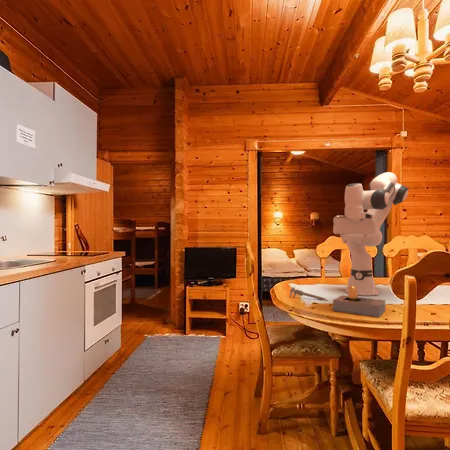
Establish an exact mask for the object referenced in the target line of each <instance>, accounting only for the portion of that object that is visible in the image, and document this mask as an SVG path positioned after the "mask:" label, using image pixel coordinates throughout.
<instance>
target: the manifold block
mask: <svg viewBox="0 0 450 450" xmlns="http://www.w3.org/2000/svg"><path fill="white" fill-rule="evenodd" d="M332 312H338V313H346V314H353V315H359V316H360V315H361V316H366V315H367V316H369V317H373V318H374V317H375V318H380V317H382V315H383V314H384V313H385V312H386V299H377V298H370V297H360V296H357V301H349V300H348V295H343V294H342V295H340V296H338V297H336V298H334V299H332Z"/></svg>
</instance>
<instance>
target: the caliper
mask: <svg viewBox="0 0 450 450" xmlns="http://www.w3.org/2000/svg"><path fill="white" fill-rule="evenodd" d="M297 295H298V296H301V297H303V296H305V297H309V298H313V299H316V300H319V301H328V299H327V298H326V297H323V296H319V295H315V294H311V293H308V292H304V291H303V290H300V289H297V288H296V286H295V287H294V286H292V287H291V288H290V291H289V298H295V297H296V296H297Z"/></svg>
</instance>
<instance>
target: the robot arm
mask: <svg viewBox="0 0 450 450" xmlns="http://www.w3.org/2000/svg"><path fill="white" fill-rule="evenodd" d="M408 195H409V187H407V186H406V185H403V184H401V183H399V182H398V177H397V175H396V174H395V173H394V172H390V171H387V172H383V173H380V174H379V175H377V176H375V177H374V178H372V180H371V181H370V182H369V184H368V190H364V189H363V185H362V183H360V182H359V183H358V182H357V183H349V184H347V185H346V186H345V189H344V204H345V207H344V215H336V216H334V217H333V218H332V220H333V227H332V232H333V234H335V235H339V236H340V238H341V240H342V244H346V246H347V248H348V249H349V252H350V258H351V268H350V276H349V277H348V279H347V287H348V286H357V296H379V295H380V290H379V289H377V286H376V282H375V279H374V277H373V274H374V273H373V269H372V265H373V264H372V261H373V260H372V259H373V258H372V256H371V254H370V253H369V252H368V251H367V249H366V247H374V246H375V247H376V246H379V245H380V244H381V243H382V241H383V234H382V231H381V230H380V229H381V226H382V225H383V223H384V221H385V220H386V218H387V217H388V215H389V214H390V211H391V209H392V206H396V205H398V204H401V203H403V202H404V201H405V200H407V198H408ZM364 210H365V211H366V212H365V211H364ZM344 291H345V293H348V288H347V289H345V290H344Z"/></svg>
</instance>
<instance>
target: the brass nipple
mask: <svg viewBox="0 0 450 450" xmlns="http://www.w3.org/2000/svg"><path fill="white" fill-rule="evenodd" d="M347 289H348V292H347V296H348V300H349V301H357V297H358V295H357V286H348V285H347Z"/></svg>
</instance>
